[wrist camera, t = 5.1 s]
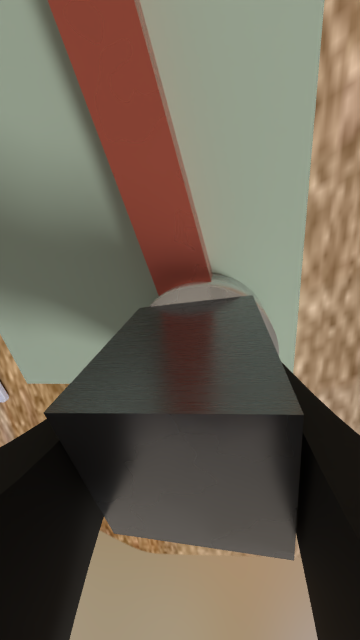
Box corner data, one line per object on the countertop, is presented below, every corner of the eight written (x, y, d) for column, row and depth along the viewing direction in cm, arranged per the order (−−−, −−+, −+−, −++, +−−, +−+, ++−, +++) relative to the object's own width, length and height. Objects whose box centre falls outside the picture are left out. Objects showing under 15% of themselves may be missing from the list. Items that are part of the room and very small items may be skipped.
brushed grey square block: (162, 391, 12) (114, 533, 6) (139, 307, 10) (43, 412, 5) (257, 389, 11) (294, 560, 5) (252, 295, 9) (303, 414, 3)
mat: (31, 380, 18) (27, 383, 18) (-231, -110, 8) (-251, -125, 8) (290, 380, 14) (292, 384, 13) (369, -630, 4) (384, -714, 4)
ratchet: (276, 369, 13) (311, 462, 8) (170, 384, 15) (145, 467, 10) (184, -124, 6) (53, -1349, 1) (15, 19, 8) (-290, -281, 3)
